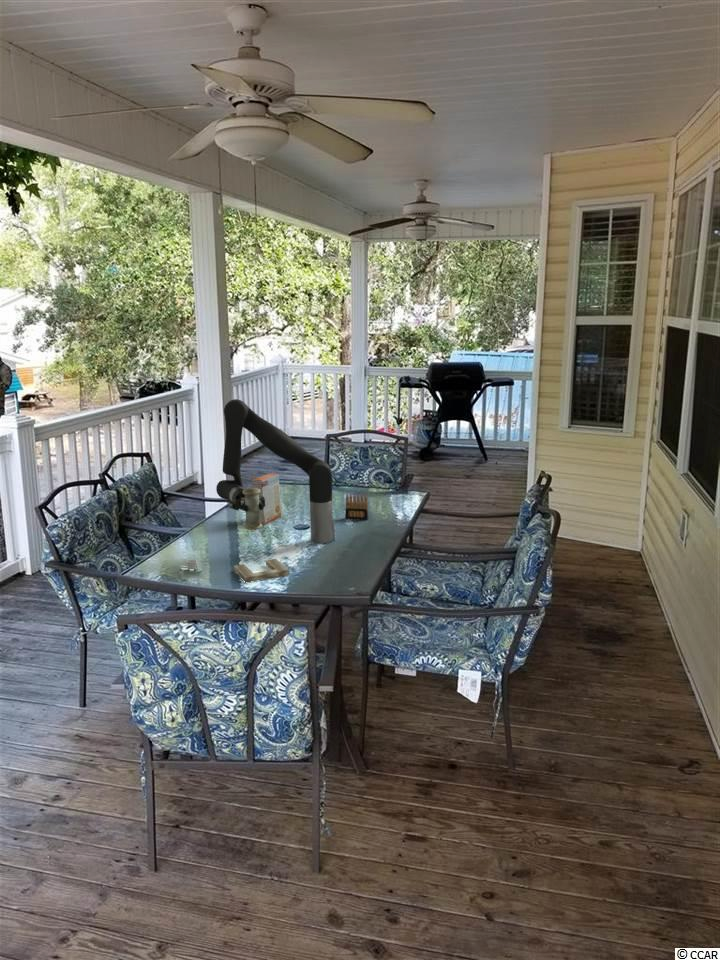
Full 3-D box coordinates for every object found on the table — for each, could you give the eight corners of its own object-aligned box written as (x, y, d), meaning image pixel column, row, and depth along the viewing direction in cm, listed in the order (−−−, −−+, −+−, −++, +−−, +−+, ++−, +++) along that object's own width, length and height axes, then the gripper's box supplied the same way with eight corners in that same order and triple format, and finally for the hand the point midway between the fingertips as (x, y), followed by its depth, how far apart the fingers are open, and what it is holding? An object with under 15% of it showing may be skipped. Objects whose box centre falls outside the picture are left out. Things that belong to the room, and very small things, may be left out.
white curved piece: (176, 570, 262) (176, 560, 261) (196, 565, 267) (195, 555, 266) (186, 576, 255) (185, 566, 255) (206, 572, 260) (205, 561, 259)
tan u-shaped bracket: (276, 563, 267) (275, 558, 266) (289, 575, 254) (289, 569, 254) (234, 570, 260) (233, 565, 259) (245, 583, 247) (245, 577, 247)
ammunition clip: (345, 518, 325) (344, 493, 323) (346, 517, 327) (345, 492, 324) (367, 520, 323) (367, 494, 320) (368, 519, 324) (368, 493, 322)
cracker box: (271, 515, 332) (269, 472, 327) (281, 517, 329) (279, 473, 325) (253, 523, 320) (251, 478, 315) (264, 525, 317) (262, 480, 313)
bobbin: (258, 523, 263) (257, 487, 259) (264, 528, 257) (262, 491, 254) (242, 526, 260) (240, 489, 257) (247, 530, 254) (245, 493, 251)
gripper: (222, 490, 266) (234, 500, 251) (258, 486, 272) (272, 495, 257) (223, 509, 267) (235, 520, 252) (259, 504, 273) (273, 515, 258)
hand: (254, 508), depth 254 cm, fingers closed on bobbin, 5 cm apart
